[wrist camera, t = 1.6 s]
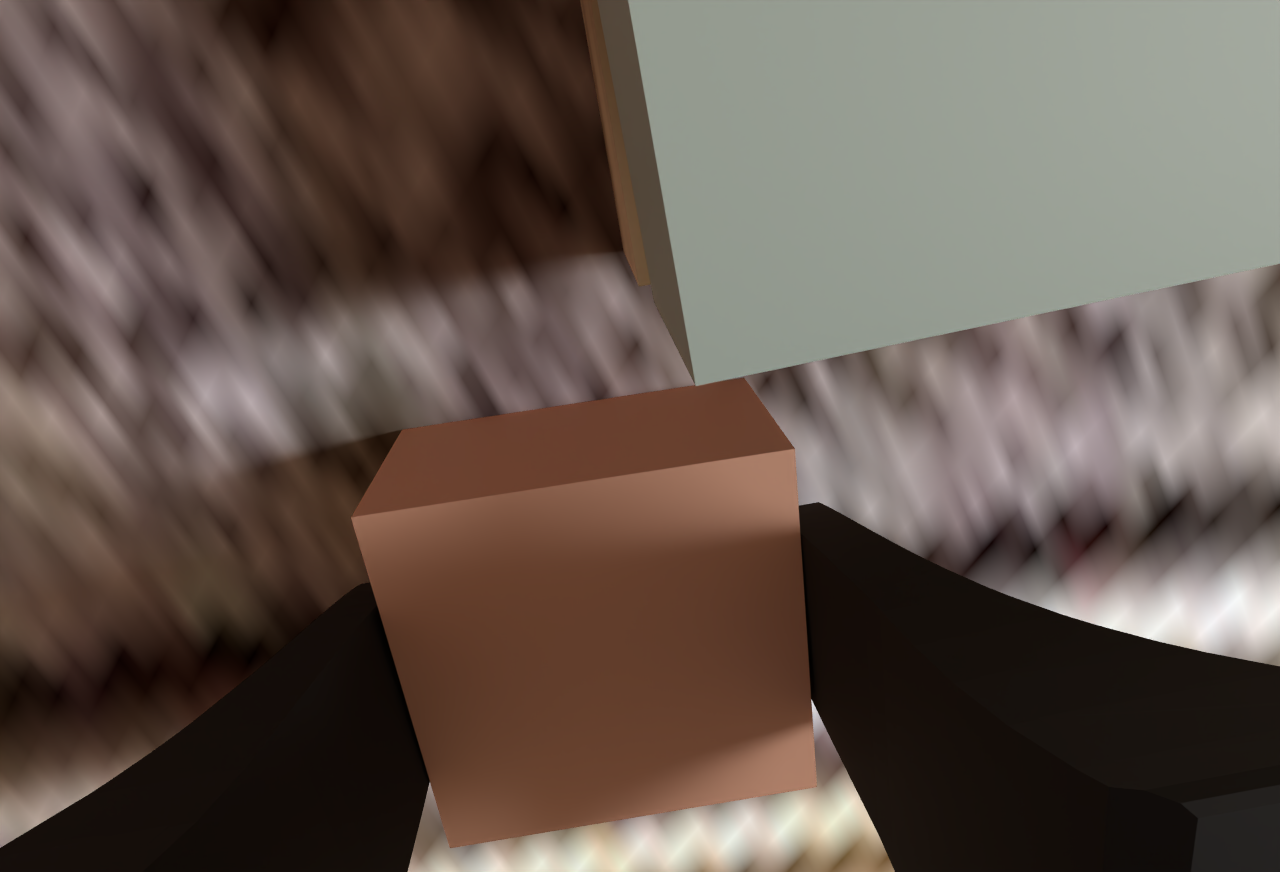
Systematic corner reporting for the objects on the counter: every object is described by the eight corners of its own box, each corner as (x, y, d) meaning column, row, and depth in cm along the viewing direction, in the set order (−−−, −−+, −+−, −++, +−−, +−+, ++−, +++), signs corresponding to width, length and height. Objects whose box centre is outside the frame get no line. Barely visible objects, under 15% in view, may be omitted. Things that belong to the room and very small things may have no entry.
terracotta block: (766, 651, 13) (817, 786, 11) (475, 698, 13) (450, 848, 10) (740, 373, 12) (794, 449, 9) (404, 425, 11) (350, 517, 9)
